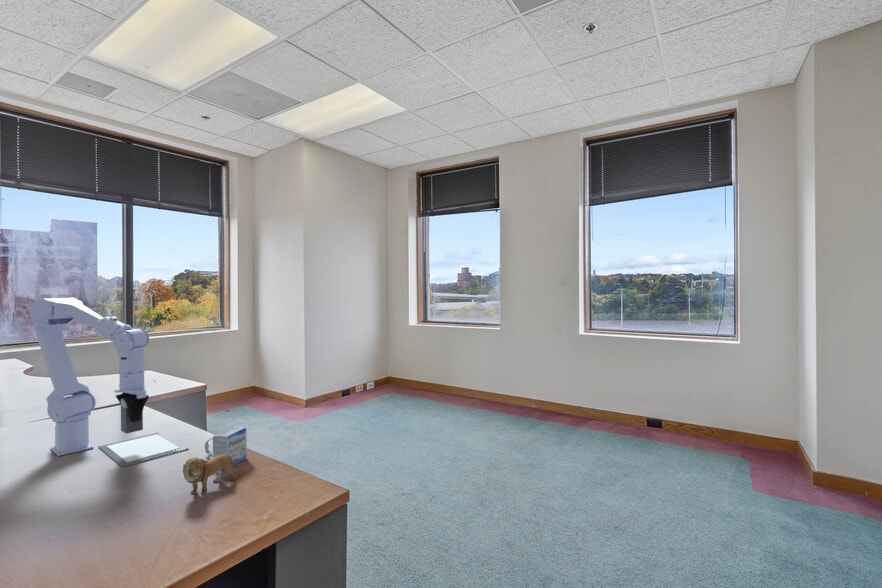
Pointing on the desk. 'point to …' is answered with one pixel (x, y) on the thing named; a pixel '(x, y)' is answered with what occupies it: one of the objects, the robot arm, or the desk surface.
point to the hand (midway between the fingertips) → (132, 419)
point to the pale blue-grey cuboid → (125, 420)
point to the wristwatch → (207, 448)
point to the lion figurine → (207, 470)
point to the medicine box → (231, 444)
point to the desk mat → (139, 449)
